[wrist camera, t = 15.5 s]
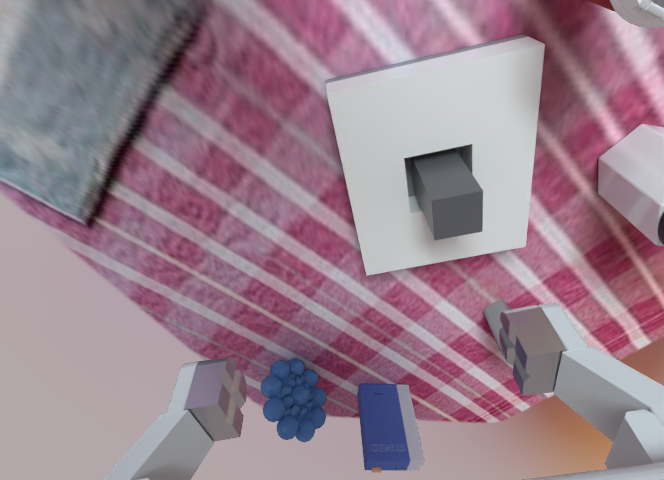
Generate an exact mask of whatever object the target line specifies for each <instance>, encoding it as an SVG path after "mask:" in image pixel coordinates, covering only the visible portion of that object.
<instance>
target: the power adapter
mask: <svg viewBox="0 0 664 480" xmlns="http://www.w3.org/2000/svg"><path fill="white" fill-rule="evenodd" d="M506 310H512V309H511V308H510V307H509V306H508V305H507V304H506V303H505V302H504V301H502V300H499V301H496V302H495V303H493V304H491V305H489V306H488V307H486V308H485V309H484V310H483V313H484V315H485V317H486V320H487V322H488V324H489V326H490V328H491V331H492V333H493V335H494V337H495V339H496V342H497V344H498V346H499V348H500V350H501V353H502V355H503V357H504V354H503V351H502V349H501V344H500V339H499V330H500V329H501V328H502V327H503V325H502V323H501V321H500V314H501V312H502V311H506ZM504 358H505V357H504ZM541 394H542V396H543V398H546V397H545V395H544V393H541Z"/></svg>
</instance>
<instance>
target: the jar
mask: <svg viewBox="0 0 664 480" xmlns="http://www.w3.org/2000/svg"><path fill="white" fill-rule="evenodd" d="M598 194H599V195H600V196H601V197H603V198H604V199H605V200H606V201H607V202H608V203H609V204H610V205H611V206H613V207H614V208H615V209H616V210H617V211H618V212H619V213H620V214H621V215H623V216H624V217H625V218H626V219H627V220H628V221H629V222H630V223H632V224H633V225H634V226H635V227H636V228H637V229H638V230H639V231H640V232H642V233H643V234H644V235H645V236H646V237H647V238H648V239H649V240H650V241H652V242H653V243H654V244H655V245H660V246H664V127H659V126H653V125H646V124H641V125H639V126H638V127H637V128H635V129H634V130H633V131H632V132H630V133H629V134H628V135H627V136H625V137H624V138H623V139H621V140H620V141H619V142H618V143H616V144H615V145H614V146H613V147H611V148H610V149H609V150H608V151H606V152H605V153H604V154H602V155H601V156H600V157H599V161H598Z"/></svg>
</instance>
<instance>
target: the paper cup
mask: <svg viewBox="0 0 664 480" xmlns="http://www.w3.org/2000/svg"><path fill="white" fill-rule="evenodd" d="M588 1H590V2H593V3H595V4H597V5H600V6H602V7H605V8H607V9H610V10H612V11H616V12H617V13H618V14H619V15H620V16H621V17H622V18H623V19H624V20H626V21H627V22H629V23H631V24H634V25H637V26H640V27H648V28H654V27H664V0H588Z"/></svg>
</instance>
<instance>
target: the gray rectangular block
mask: <svg viewBox="0 0 664 480" xmlns="http://www.w3.org/2000/svg"><path fill="white" fill-rule="evenodd" d="M410 160H411V170H412V180H413V188H414V191H415V193H416V196H417V198H418V201H419V203H420V206H421V208H422V211H423V213H424V216H425V218H426V221H427V223H428V226H429V228H430V231H431V233H432V236H433V238H434V241H435V240H440V239H445V238H451V237H456V236H461V235H467V234H472V233H477V232H482V229H483V190H482V188H481V187H480V185H479V184H478V182H477V181H476V179H475V178H474V176H473V175H472V173H471V172H470V170H469V169H468V167H467V166H466V164H465V163H464V161H463V160H462V158H461V157H460V155H459V154H458V152H457V151H456V149H455V148H451V149H446V150H442V151H437V152H432V153H427V154H422V155H418V156H413V157H410Z"/></svg>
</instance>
